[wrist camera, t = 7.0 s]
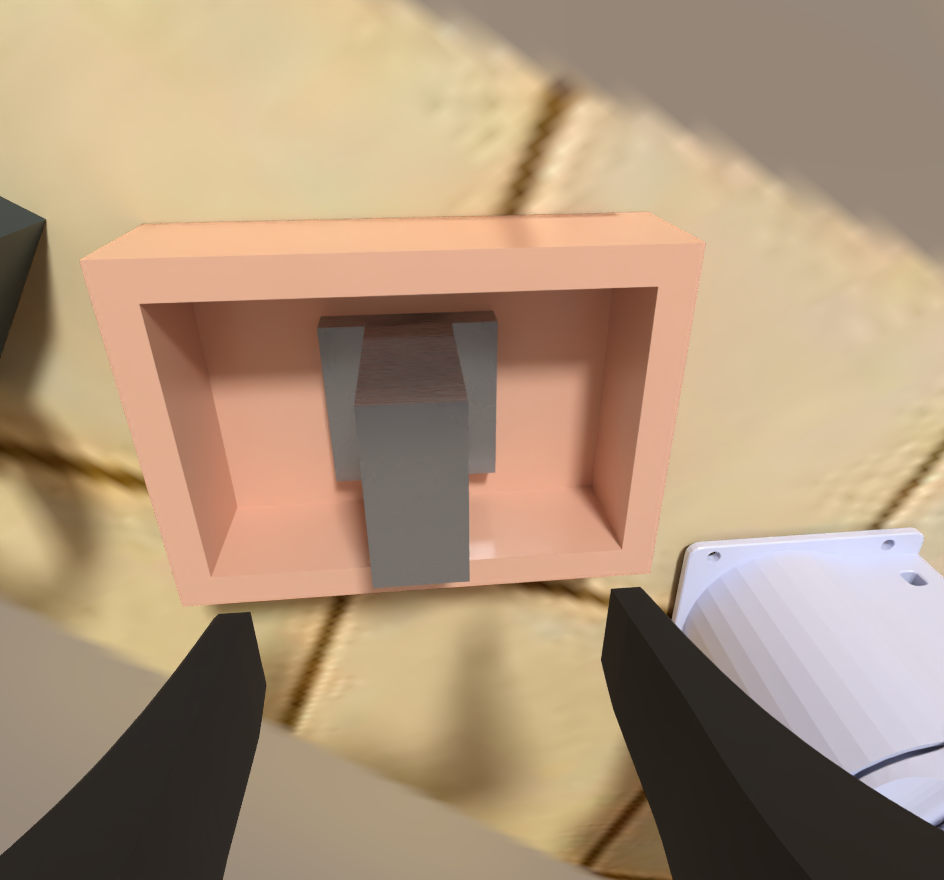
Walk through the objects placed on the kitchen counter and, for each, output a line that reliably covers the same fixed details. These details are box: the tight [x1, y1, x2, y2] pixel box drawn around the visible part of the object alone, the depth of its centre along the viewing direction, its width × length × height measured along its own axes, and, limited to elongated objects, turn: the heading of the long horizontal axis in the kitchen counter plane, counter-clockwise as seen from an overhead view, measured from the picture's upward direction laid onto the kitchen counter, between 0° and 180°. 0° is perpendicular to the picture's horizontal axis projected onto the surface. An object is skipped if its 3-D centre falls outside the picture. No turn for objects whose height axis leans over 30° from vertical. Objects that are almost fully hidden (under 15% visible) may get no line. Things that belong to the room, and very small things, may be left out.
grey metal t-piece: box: [317, 310, 498, 588], centre depth 17 cm, size 5×5×6 cm
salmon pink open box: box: [79, 212, 706, 607], centre depth 19 cm, size 14×10×4 cm
